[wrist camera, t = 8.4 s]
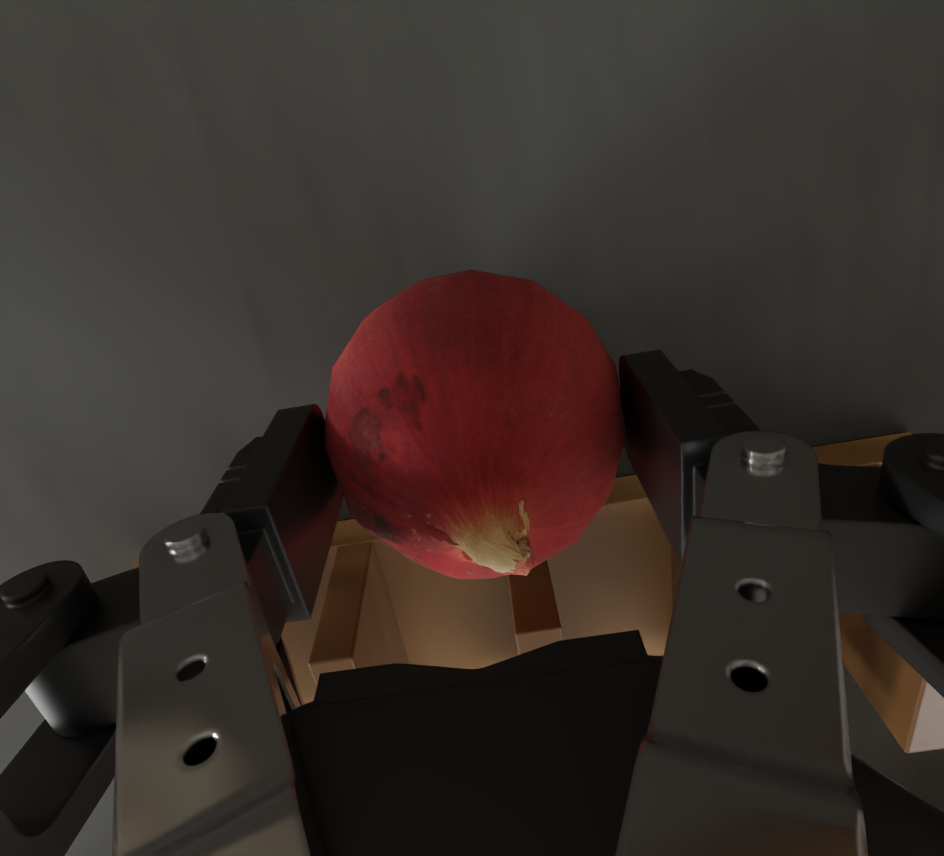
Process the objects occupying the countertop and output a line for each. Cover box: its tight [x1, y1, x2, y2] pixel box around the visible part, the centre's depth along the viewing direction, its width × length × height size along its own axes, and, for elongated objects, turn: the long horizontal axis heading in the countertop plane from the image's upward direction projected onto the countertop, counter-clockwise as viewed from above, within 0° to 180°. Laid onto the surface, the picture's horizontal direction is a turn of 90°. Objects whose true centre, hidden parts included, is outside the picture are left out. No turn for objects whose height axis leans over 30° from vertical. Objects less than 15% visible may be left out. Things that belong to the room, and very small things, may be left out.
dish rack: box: [132, 432, 944, 753], centre depth 17 cm, size 22×6×5 cm, turn 99°
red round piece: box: [324, 270, 627, 579], centre depth 12 cm, size 6×6×8 cm
